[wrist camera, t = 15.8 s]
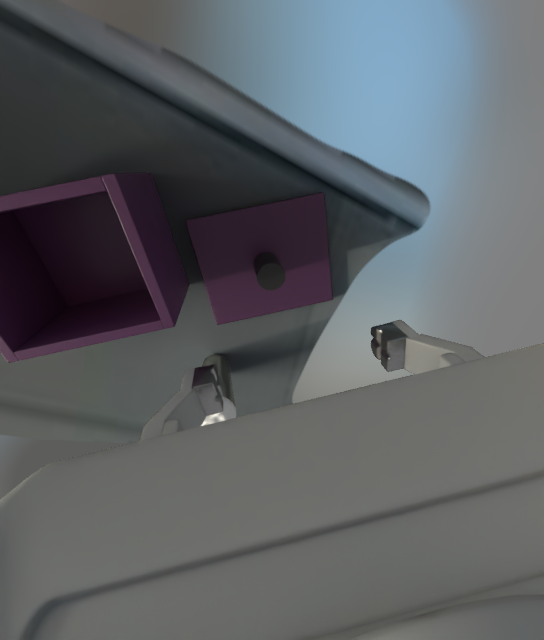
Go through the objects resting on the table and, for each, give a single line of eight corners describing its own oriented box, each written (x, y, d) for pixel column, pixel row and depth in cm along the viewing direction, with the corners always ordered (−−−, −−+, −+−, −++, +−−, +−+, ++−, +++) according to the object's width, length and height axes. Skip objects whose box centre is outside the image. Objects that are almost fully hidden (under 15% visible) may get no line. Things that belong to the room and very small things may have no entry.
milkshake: (206, 339, 33) (197, 400, 24) (242, 362, 35) (246, 425, 26) (183, 365, 34) (167, 432, 25) (219, 385, 36) (216, 454, 27)
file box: (67, 311, 29) (7, 363, 21) (2, 202, 24) (-107, 216, 16) (189, 285, 30) (174, 326, 22) (151, 172, 25) (114, 173, 17)
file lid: (217, 322, 32) (215, 344, 28) (185, 220, 27) (178, 228, 23) (331, 297, 33) (345, 315, 29) (322, 192, 27) (338, 195, 23)
